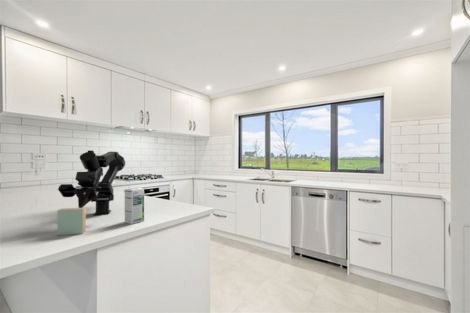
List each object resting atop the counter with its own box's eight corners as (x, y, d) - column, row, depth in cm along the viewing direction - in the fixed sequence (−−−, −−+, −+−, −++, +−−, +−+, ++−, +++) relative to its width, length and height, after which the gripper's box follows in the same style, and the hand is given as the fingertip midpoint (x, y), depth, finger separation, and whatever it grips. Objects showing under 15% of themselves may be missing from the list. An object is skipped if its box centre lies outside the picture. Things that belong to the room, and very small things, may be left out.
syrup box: (132, 224, 87) (132, 189, 87) (123, 222, 90) (124, 188, 90) (144, 221, 92) (144, 187, 92) (136, 218, 95) (136, 186, 95)
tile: (60, 233, 77) (61, 208, 77) (85, 231, 79) (85, 207, 79) (56, 235, 75) (57, 210, 75) (82, 233, 76) (82, 209, 76)
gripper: (61, 164, 86) (42, 196, 75) (111, 164, 90) (100, 194, 79) (71, 181, 93) (55, 212, 82) (117, 181, 97) (108, 210, 87)
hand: (79, 207), depth 82 cm, fingers closed
